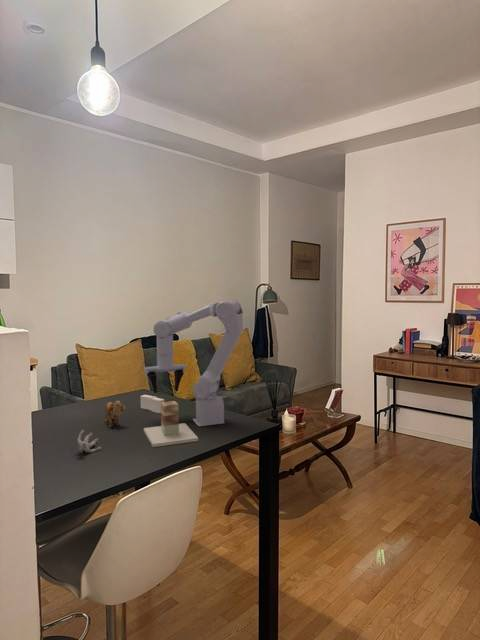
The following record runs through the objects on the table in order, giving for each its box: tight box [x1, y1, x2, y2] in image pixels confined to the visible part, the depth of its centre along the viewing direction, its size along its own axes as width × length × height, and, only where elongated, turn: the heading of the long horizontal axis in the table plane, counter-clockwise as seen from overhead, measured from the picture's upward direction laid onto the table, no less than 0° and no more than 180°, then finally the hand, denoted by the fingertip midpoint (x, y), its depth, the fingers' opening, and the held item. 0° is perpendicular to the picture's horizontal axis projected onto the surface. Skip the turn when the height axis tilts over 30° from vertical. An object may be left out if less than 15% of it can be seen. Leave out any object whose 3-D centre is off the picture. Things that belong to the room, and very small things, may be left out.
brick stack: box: [160, 400, 180, 426], centre depth 145 cm, size 5×5×6 cm
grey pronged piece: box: [75, 429, 102, 454], centre depth 134 cm, size 8×5×12 cm
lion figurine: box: [103, 400, 127, 428], centre depth 160 cm, size 15×5×9 cm, turn 37°
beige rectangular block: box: [140, 394, 165, 414], centre depth 175 cm, size 15×11×6 cm
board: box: [143, 421, 199, 448], centre depth 146 cm, size 14×16×4 cm
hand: (165, 391), depth 164 cm, fingers open, 7 cm apart
